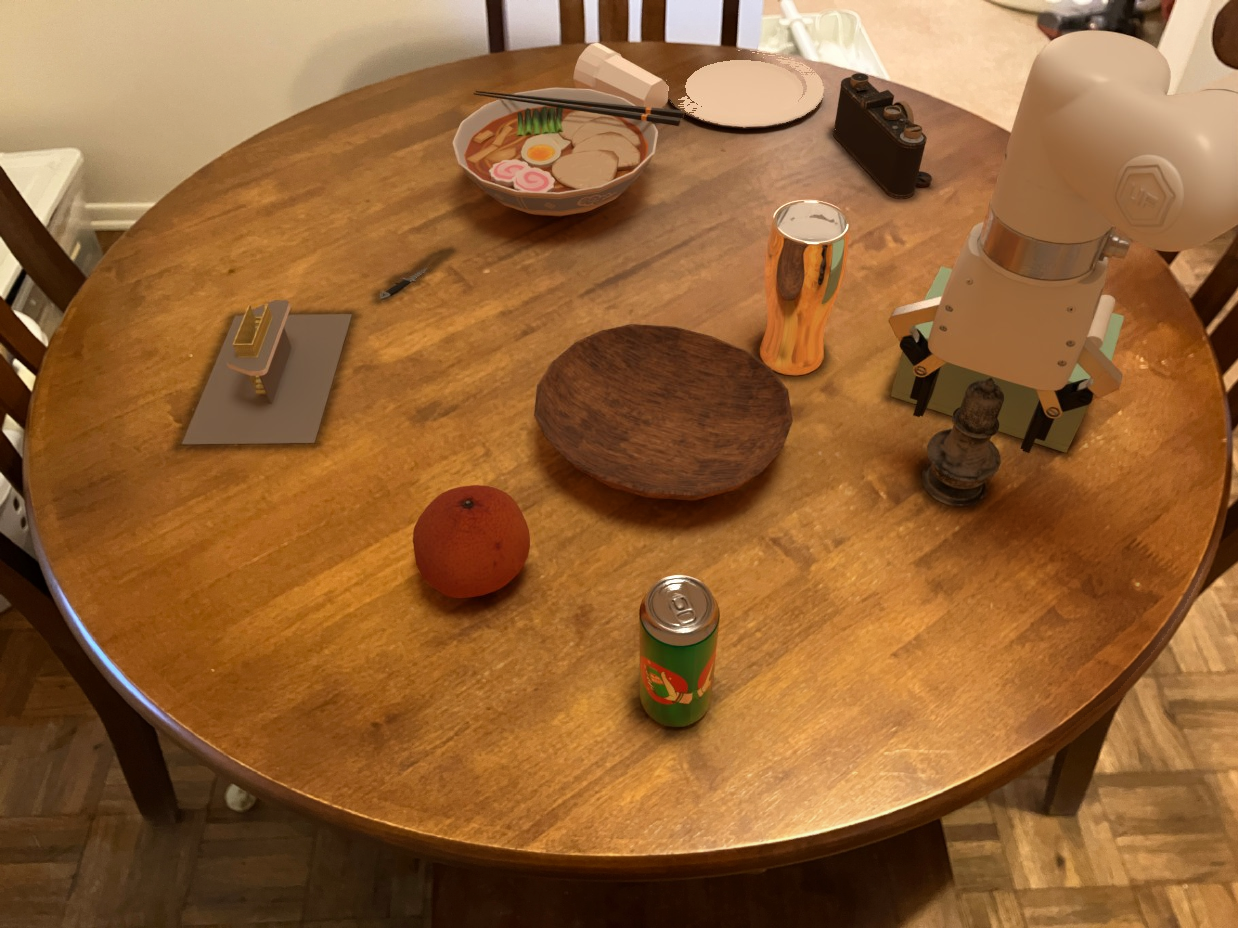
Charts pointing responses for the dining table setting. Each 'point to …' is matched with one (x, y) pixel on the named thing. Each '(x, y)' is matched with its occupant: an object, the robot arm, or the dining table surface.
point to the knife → (401, 285)
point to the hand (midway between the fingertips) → (974, 422)
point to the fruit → (471, 541)
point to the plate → (751, 93)
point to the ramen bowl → (558, 148)
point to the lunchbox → (1012, 412)
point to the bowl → (663, 411)
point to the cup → (618, 77)
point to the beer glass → (802, 282)
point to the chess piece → (966, 448)
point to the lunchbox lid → (1100, 333)
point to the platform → (270, 378)
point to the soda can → (677, 650)
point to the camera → (881, 136)
